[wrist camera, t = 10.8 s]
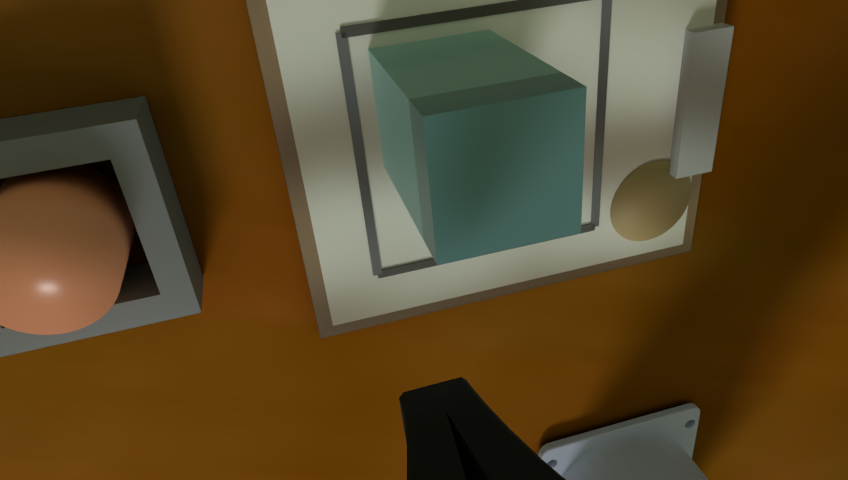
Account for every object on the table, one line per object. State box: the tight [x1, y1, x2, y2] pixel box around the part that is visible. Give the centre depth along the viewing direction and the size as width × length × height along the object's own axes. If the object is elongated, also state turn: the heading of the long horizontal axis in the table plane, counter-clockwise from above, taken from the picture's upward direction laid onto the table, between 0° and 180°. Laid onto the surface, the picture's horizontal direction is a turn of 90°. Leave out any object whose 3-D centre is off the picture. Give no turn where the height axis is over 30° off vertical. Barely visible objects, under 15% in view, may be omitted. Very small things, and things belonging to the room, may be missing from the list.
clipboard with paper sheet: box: [246, 0, 734, 338], centre depth 20 cm, size 12×15×1 cm
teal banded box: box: [368, 30, 587, 266], centre depth 17 cm, size 4×4×6 cm
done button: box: [0, 164, 136, 335], centre depth 17 cm, size 4×4×3 cm
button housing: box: [0, 96, 203, 357], centre depth 18 cm, size 6×6×2 cm
